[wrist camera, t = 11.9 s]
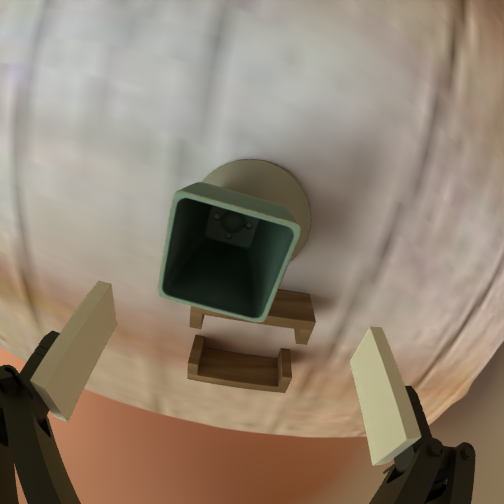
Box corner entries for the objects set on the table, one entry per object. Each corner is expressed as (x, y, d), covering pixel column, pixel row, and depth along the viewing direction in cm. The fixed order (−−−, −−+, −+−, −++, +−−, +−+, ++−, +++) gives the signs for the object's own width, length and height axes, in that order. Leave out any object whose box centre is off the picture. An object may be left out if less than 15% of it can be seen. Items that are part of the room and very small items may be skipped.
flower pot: (291, 191, 27) (305, 226, 19) (263, 269, 30) (263, 325, 22) (201, 164, 26) (173, 188, 18) (182, 246, 30) (156, 296, 22)
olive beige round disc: (198, 150, 26) (196, 151, 25) (322, 173, 26) (324, 174, 26) (186, 260, 31) (185, 263, 31) (294, 278, 32) (294, 282, 31)
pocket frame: (200, 276, 32) (191, 302, 28) (309, 294, 33) (315, 322, 28) (194, 351, 38) (187, 378, 33) (283, 365, 38) (285, 392, 34)
